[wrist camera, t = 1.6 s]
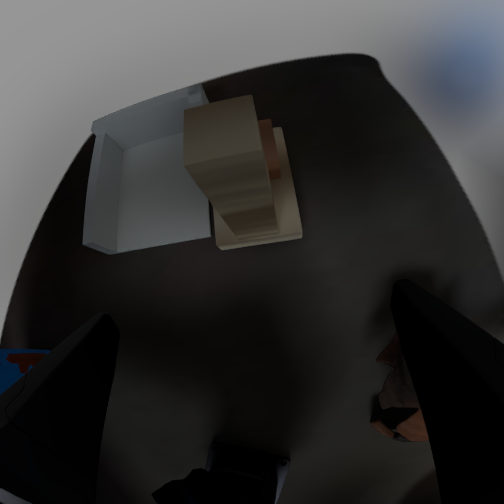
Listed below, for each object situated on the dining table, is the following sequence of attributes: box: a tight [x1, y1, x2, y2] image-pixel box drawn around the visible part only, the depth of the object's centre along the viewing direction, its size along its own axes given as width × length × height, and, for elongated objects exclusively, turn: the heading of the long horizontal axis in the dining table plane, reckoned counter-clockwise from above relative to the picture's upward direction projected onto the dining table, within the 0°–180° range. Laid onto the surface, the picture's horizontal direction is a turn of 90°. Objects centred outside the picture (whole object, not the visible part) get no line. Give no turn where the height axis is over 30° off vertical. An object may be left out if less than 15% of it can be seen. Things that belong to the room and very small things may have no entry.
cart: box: [183, 95, 302, 250], centre depth 17 cm, size 9×6×13 cm, turn 7°
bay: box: [83, 84, 212, 255], centre depth 22 cm, size 12×11×5 cm
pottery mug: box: [370, 332, 429, 442], centre depth 15 cm, size 12×10×8 cm
